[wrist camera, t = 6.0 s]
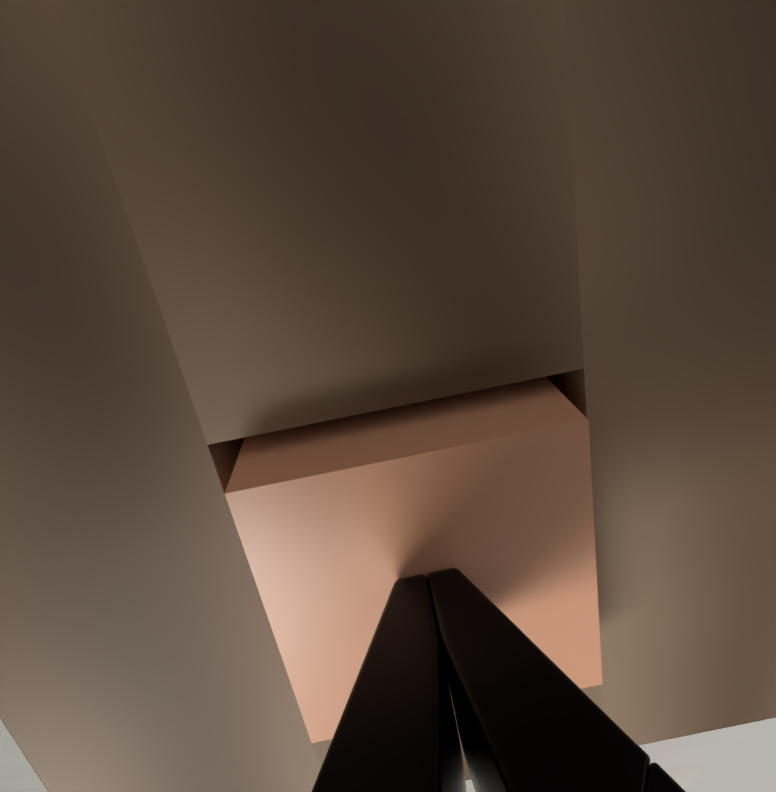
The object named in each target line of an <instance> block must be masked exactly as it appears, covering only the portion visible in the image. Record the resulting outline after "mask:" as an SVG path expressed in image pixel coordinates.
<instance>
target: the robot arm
mask: <svg viewBox="0 0 776 792" xmlns="http://www.w3.org/2000/svg"><path fill="white" fill-rule="evenodd" d="M427 579H428V581H427ZM428 585H429V586H428ZM451 697H452V698H451ZM452 702H453V703H452ZM453 707H454V708H453ZM454 712H455V713H454ZM455 717H456V718H455ZM456 722H457V723H456ZM457 726H458V728H457ZM458 731H459V733H458ZM459 736H460V739H459ZM460 740H461V744H462V748H463V752H464V756H465V759H466V763H467V766H468V770H469V773H470V776H471V779H472V782H473V785H474V788H475V791H476V792H685V791H684V790H683V789H682V788H681V787H680V786H679V785H678V784H677V783H676V782H675V781H674V780H673V779H672V778H671V777H670V776H669V775H668V774H667V773H666V772H665V771H664V770H663V769H662V768H661V767H660V766H659V765H658V764H657V763H651V764H650V757H649V756H648V755H647V754H646V753H645V752H644V751H643V750H642V749H641V748H640V747H639V746H638V745H637V744H636V743H635V742H634V741H633V740H632V739H631V738H630V737H629V736H628V735H627V734H626V733H625V732H624V731H623V730H622V729H621V728H620V727H619V726H618V725H617V724H616V723H615V722H614V721H613V720H612V719H611V718H610V717H609V716H608V715H607V714H606V713H605V712H604V711H603V710H602V709H601V708H600V707H598V706H597V705H596V704H595V703H594V702H593V701H592V700H591V699H590V698H589V697H588V696H587V695H586V694H585V693H584V692H583V691H582V690H581V689H580V688H579V687H578V686H577V685H576V684H575V683H574V682H573V681H572V680H571V679H570V678H569V677H568V676H567V675H566V674H565V673H564V672H563V671H562V670H561V669H560V668H559V667H558V666H557V665H556V664H555V663H554V662H553V661H552V660H551V659H550V658H549V657H548V656H547V655H546V654H545V653H544V652H543V651H541V650H540V649H539V648H538V647H537V646H536V645H535V644H534V643H533V642H532V641H531V640H530V639H529V638H528V637H527V636H526V635H525V634H524V633H523V632H522V631H521V630H520V629H519V628H518V627H517V626H516V625H515V624H514V623H513V622H512V621H511V620H510V619H509V618H508V617H507V616H506V615H505V614H504V613H503V612H502V611H501V610H500V609H499V608H498V607H497V606H496V605H495V604H494V603H493V602H492V601H491V600H490V599H489V598H488V597H487V596H486V595H484V594H483V593H482V592H481V591H480V590H479V589H478V588H477V587H476V586H475V585H474V584H473V583H472V582H471V581H470V580H469V579H468V578H467V577H466V576H465V575H464V574H463V573H462V572H461V571H460V570H459V569H457V568H449V569H444V570H439V571H434V572H431V573H429V574H428V577H427V578H426V576H425V575H423V574H419V575H414V576H409V577H404V578H400V579H397V580H396V581H395V583H394V585H393V587H392V590H391V592H390V595H389V597H388V600H387V602H386V605H385V607H384V610H383V612H382V615H381V617H380V620H379V622H378V625H377V628H376V630H375V633H374V635H373V638H372V640H371V643H370V645H369V648H368V650H367V653H366V655H365V658H364V660H363V663H362V665H361V668H360V670H359V673H358V675H357V678H356V680H355V683H354V686H353V688H352V691H351V693H350V696H349V698H348V701H347V703H346V706H345V708H344V711H343V713H342V716H341V718H340V721H339V723H338V726H337V728H336V731H335V733H334V736H333V739H332V741H331V744H330V746H329V749H328V751H327V754H326V756H325V759H324V761H323V764H322V766H321V769H320V771H319V774H318V776H317V779H316V781H315V784H314V786H313V789H312V791H311V792H466V784H465V773H464V765H463V757H462V750H461V745H460Z"/></svg>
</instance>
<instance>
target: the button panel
mask: <svg viewBox="0 0 776 792" xmlns="http://www.w3.org/2000/svg"><path fill="white" fill-rule="evenodd" d="M545 376H546V377H547V378H548V380H549V381H550V382H551V383H552V384H553V385H554V386H555V387H556V388H557V389H558V390H559V391H560V392H561V393H562V394H563V395H564V396H565V397H566V398H567V399H568V400H569V401H570V402H571V403H572V404H573V405H574V406H575V407H576V408H577V409H578V410H579V411H580V412H581V413H582V414H583V415H584V416H585V417H586V418H587V419H588V420H589V437H590V456H591V475H592V494H593V513H594V532H595V551H596V570H597V589H598V608H599V627H600V646H601V665H602V684H601V685H596V686H591V687H586V688H581V690H582V691H583V692H584V693H585V694H586V695H587V696H588V697H589V698H590V699H591V700H592V701H593V702H594V703H595V704H596V705H597V706H598V707H600V708H601V709H602V710H603V711H604V712H605V713H606V714H607V715H608V716H609V717H610V718H611V719H612V720H613V721H614V722H615V723H616V724H617V725H618V726H619V727H620V728H621V729H622V730H623V731H624V732H625V733H626V734H627V735H628V736H629V737H630V738H631V739H632V740H633V741H634V742H635V743H636V744H637V745H642V744H647V743H652V742H657V741H662V740H667V739H672V738H677V737H682V736H686V735H691V734H696V733H701V732H706V731H711V730H716V729H721V728H726V727H731V726H736V725H741V724H746V723H750V722H755V721H760V720H765V719H770V718H775V717H776V0H0V718H1V720H2V722H3V723H4V725H5V726H6V728H7V729H8V731H9V732H10V734H11V735H12V737H13V739H14V740H15V742H16V743H17V745H18V746H19V748H20V749H21V751H22V752H23V754H24V756H25V757H26V759H27V760H28V762H29V763H30V765H31V766H32V768H33V770H34V771H35V773H36V774H37V776H38V777H39V779H40V780H41V782H42V783H43V785H44V787H45V788H46V790H47V791H48V792H311V791H312V789H313V786H314V784H315V781H316V779H317V776H318V774H319V771H320V769H321V766H322V764H323V761H324V759H325V756H326V754H327V751H328V749H329V746H330V744H331V741H332V739H330V740H325V741H320V742H315V743H311V740H310V737H309V734H308V731H307V729H306V726H305V723H304V720H303V717H302V714H301V711H300V708H299V706H298V703H297V700H296V697H295V694H294V691H293V688H292V686H291V683H290V680H289V677H288V674H287V671H286V668H285V666H284V663H283V660H282V657H281V654H280V651H279V648H278V645H277V643H276V640H275V637H274V634H273V631H272V628H271V625H270V623H269V620H268V617H267V614H266V611H265V608H264V605H263V603H262V600H261V597H260V594H259V591H258V588H257V585H256V582H255V580H254V577H253V574H252V571H251V568H250V565H249V562H248V560H247V557H246V554H245V551H244V548H243V545H242V542H241V539H240V537H239V534H238V531H237V528H236V525H235V522H234V519H233V517H232V514H231V511H230V508H229V505H228V502H227V499H226V497H225V491H226V488H227V485H228V483H229V480H230V477H231V474H232V472H233V469H234V466H235V463H236V461H237V458H238V455H239V452H240V450H241V447H242V444H243V441H244V439H245V437H249V436H254V435H258V434H263V433H268V432H273V431H278V430H283V429H288V428H293V427H298V426H303V425H308V424H313V423H318V422H323V421H328V420H333V419H338V418H343V417H348V416H352V415H357V414H362V413H367V412H372V411H377V410H382V409H387V408H392V407H397V406H402V405H407V404H412V403H417V402H422V401H427V400H432V399H437V398H442V397H446V396H451V395H456V394H461V393H466V392H471V391H476V390H481V389H486V388H491V387H496V386H501V385H506V384H511V383H516V382H521V381H526V380H531V379H536V378H540V377H545ZM455 718H456V717H455ZM456 723H457V722H456ZM457 728H458V726H457ZM458 733H459V731H458ZM459 739H460V736H459ZM460 745H461V750H462V757H463V765H464V773H465V780H470V779H471V776H470V773H469V770H468V766H467V763H466V759H465V756H464V752H463V748H462V744H461V740H460Z"/></svg>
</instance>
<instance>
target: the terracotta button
mask: <svg viewBox="0 0 776 792" xmlns="http://www.w3.org/2000/svg"><path fill="white" fill-rule="evenodd" d="M225 497H226V499H227V502H228V505H229V508H230V511H231V514H232V517H233V519H234V522H235V525H236V528H237V531H238V534H239V537H240V539H241V542H242V545H243V548H244V551H245V554H246V557H247V560H248V562H249V565H250V568H251V571H252V574H253V577H254V580H255V582H256V585H257V588H258V591H259V594H260V597H261V600H262V603H263V605H264V608H265V611H266V614H267V617H268V620H269V623H270V625H271V628H272V631H273V634H274V637H275V640H276V643H277V645H278V648H279V651H280V654H281V657H282V660H283V663H284V666H285V668H286V671H287V674H288V677H289V680H290V683H291V686H292V688H293V691H294V694H295V697H296V700H297V703H298V706H299V708H300V711H301V714H302V717H303V720H304V723H305V726H306V729H307V731H308V734H309V737H310V740H311V743H315V742H320V741H325V740H330V739H333V736H334V733H335V731H336V728H337V726H338V723H339V721H340V718H341V716H342V713H343V711H344V708H345V706H346V703H347V701H348V698H349V696H350V693H351V691H352V688H353V686H354V683H355V680H356V678H357V675H358V673H359V670H360V668H361V665H362V663H363V660H364V658H365V655H366V653H367V650H368V648H369V645H370V643H371V640H372V638H373V635H374V633H375V630H376V628H377V625H378V622H379V620H380V617H381V615H382V612H383V610H384V607H385V605H386V602H387V600H388V597H389V595H390V592H391V590H392V587H393V585H394V583H395V581H396V580H397V579H400V578H404V577H409V576H414V575H419V574H423V575H425V576H426V578H427V577H428V574H429V573H431V572H434V571H439V570H444V569H449V568H457V569H459V570H460V571H461V572H462V573H463V574H464V575H465V576H466V577H467V578H468V579H469V580H470V581H471V582H472V583H473V584H474V585H475V586H476V587H477V588H478V589H479V590H480V591H481V592H482V593H483V594H484V595H486V596H487V597H488V598H489V599H490V600H491V601H492V602H493V603H494V604H495V605H496V606H497V607H498V608H499V609H500V610H501V611H502V612H503V613H504V614H505V615H506V616H507V617H508V618H509V619H510V620H511V621H512V622H513V623H514V624H515V625H516V626H517V627H518V628H519V629H520V630H521V631H522V632H523V633H524V634H525V635H526V636H527V637H528V638H529V639H530V640H531V641H532V642H533V643H534V644H535V645H536V646H537V647H538V648H539V649H540V650H541V651H543V652H544V653H545V654H546V655H547V656H548V657H549V658H550V659H551V660H552V661H553V662H554V663H555V664H556V665H557V666H558V667H559V668H560V669H561V670H562V671H563V672H564V673H565V674H566V675H567V676H568V677H569V678H570V679H571V680H572V681H573V682H574V683H575V684H576V685H577V686H578V687H579V688H580V689H581V688H586V687H591V686H596V685H601V684H602V665H601V646H600V627H599V608H598V589H597V570H596V551H595V532H594V513H593V494H592V475H591V456H590V437H589V420H588V419H587V418H586V417H585V416H584V415H583V414H582V413H581V412H580V411H579V410H578V409H577V408H576V407H575V406H574V405H573V404H572V403H571V402H570V401H569V400H568V399H567V398H566V397H565V396H564V395H563V394H562V393H561V392H560V391H559V390H558V389H557V388H556V387H555V386H554V385H553V384H552V383H551V382H550V381H549V380H548V378H547V377H546V376H545V377H540V378H536V379H531V380H526V381H521V382H516V383H511V384H506V385H501V386H496V387H491V388H486V389H481V390H476V391H471V392H466V393H461V394H456V395H451V396H446V397H442V398H437V399H432V400H427V401H422V402H417V403H412V404H407V405H402V406H397V407H392V408H387V409H382V410H377V411H372V412H367V413H362V414H357V415H352V416H348V417H343V418H338V419H333V420H328V421H323V422H318V423H313V424H308V425H303V426H298V427H293V428H288V429H283V430H278V431H273V432H268V433H263V434H258V435H254V436H249V437H245V439H244V441H243V444H242V447H241V450H240V452H239V455H238V458H237V461H236V463H235V466H234V469H233V472H232V474H231V477H230V480H229V483H228V485H227V488H226V491H225ZM427 581H428V579H427ZM428 586H429V585H428ZM451 698H452V697H451ZM452 703H453V702H452ZM453 708H454V707H453ZM454 713H455V712H454Z"/></svg>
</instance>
